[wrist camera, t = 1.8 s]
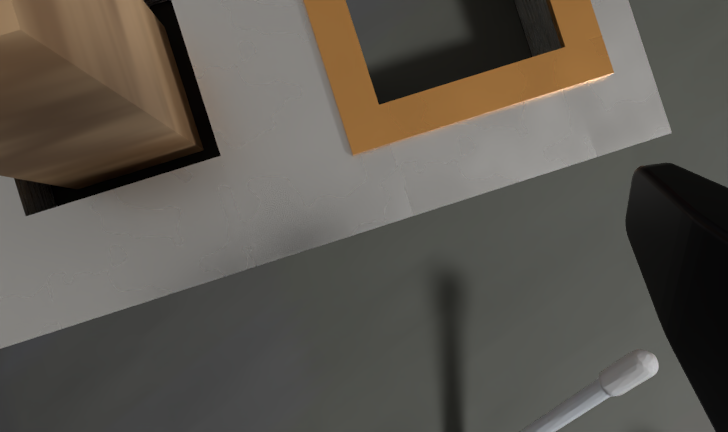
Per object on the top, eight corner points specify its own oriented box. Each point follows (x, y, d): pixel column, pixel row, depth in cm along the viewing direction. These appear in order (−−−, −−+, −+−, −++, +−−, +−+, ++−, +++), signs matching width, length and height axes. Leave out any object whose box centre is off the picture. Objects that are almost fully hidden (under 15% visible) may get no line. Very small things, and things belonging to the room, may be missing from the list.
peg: (77, 189, 22) (-295, 122, 9) (38, 65, 22) (-388, -182, 9) (203, 150, 22) (20, 29, 9) (164, 27, 22) (-72, -266, 9)
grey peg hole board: (18, 341, 22) (-28, 357, 19) (-97, -29, 22) (-160, -68, 19) (634, 144, 23) (676, 131, 20) (519, -207, 23) (545, -268, 20)
